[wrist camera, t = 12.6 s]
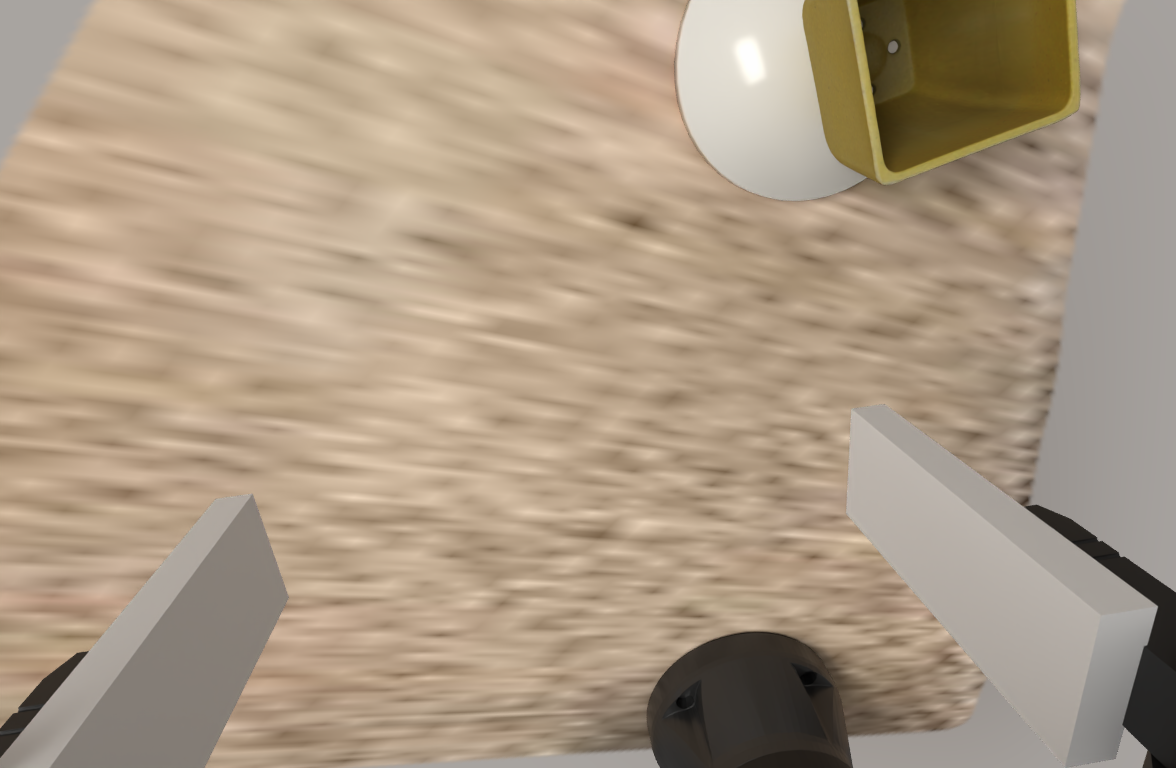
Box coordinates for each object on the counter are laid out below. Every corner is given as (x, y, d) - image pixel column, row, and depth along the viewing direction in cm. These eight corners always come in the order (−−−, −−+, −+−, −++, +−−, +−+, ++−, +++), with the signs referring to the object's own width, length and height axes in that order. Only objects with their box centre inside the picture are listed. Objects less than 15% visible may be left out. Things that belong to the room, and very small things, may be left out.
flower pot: (795, 174, 35) (880, 190, 27) (757, 1, 32) (841, -41, 24) (949, 115, 35) (1083, 113, 27) (927, -66, 32) (1073, -133, 23)
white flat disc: (921, 178, 37) (934, 179, 36) (685, 216, 37) (690, 219, 36) (938, -114, 32) (953, -123, 31) (661, -74, 31) (666, -81, 30)
